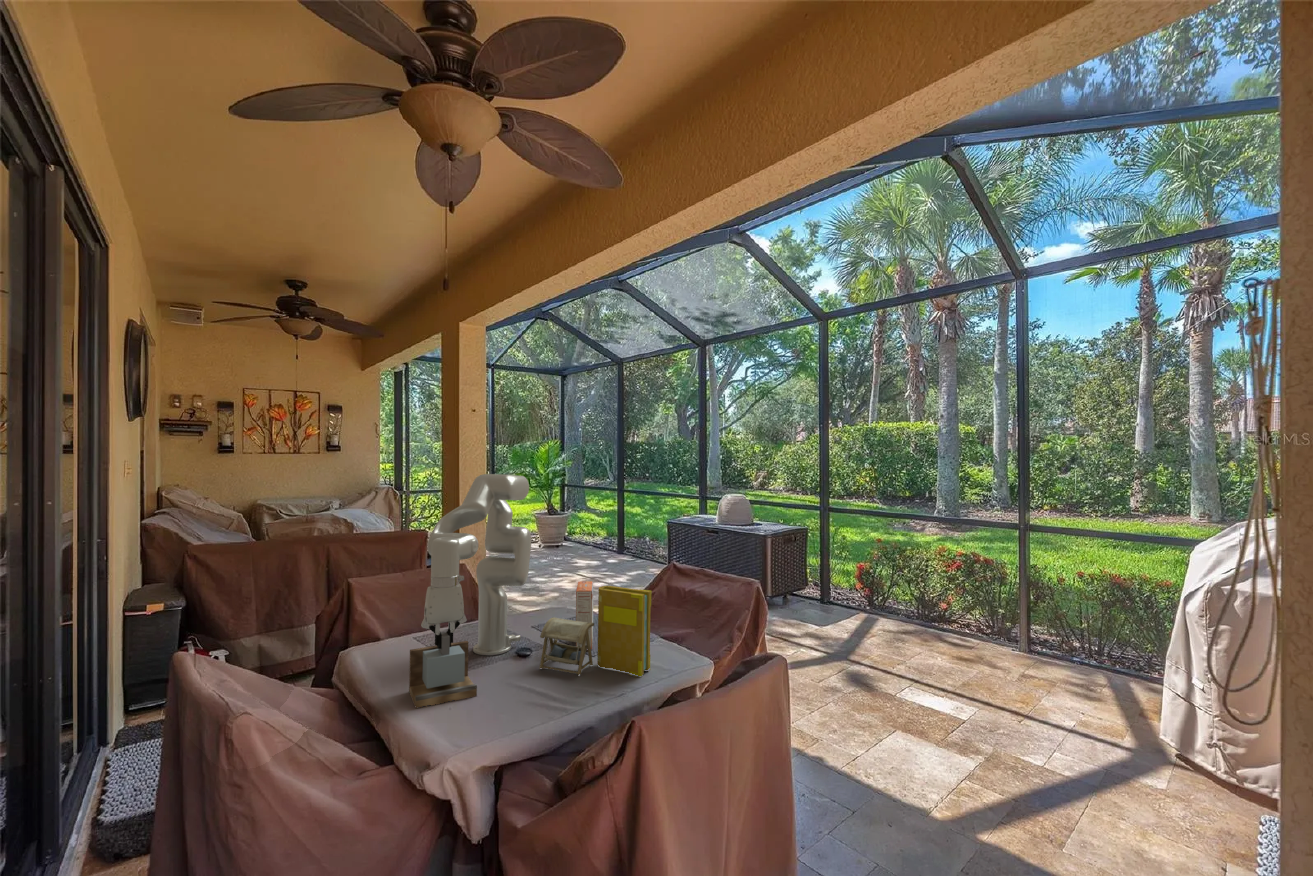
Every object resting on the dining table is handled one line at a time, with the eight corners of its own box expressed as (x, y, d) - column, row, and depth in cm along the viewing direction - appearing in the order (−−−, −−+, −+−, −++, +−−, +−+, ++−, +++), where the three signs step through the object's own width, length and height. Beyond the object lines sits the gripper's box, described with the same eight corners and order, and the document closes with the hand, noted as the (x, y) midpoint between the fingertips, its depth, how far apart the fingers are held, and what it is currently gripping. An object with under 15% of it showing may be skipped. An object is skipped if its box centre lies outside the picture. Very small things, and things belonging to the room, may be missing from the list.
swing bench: (538, 670, 184) (539, 623, 184) (553, 660, 193) (554, 615, 193) (580, 677, 179) (581, 629, 179) (594, 666, 188) (594, 620, 188)
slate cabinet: (458, 672, 171) (459, 628, 171) (464, 681, 165) (465, 635, 165) (422, 679, 166) (423, 633, 166) (427, 688, 160) (427, 641, 160)
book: (650, 669, 185) (651, 590, 186) (640, 677, 179) (642, 595, 180) (603, 660, 192) (605, 584, 193) (593, 667, 186) (594, 589, 187)
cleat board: (466, 681, 175) (467, 640, 175) (476, 696, 164) (477, 653, 164) (409, 692, 166) (409, 649, 166) (415, 708, 156) (416, 663, 156)
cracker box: (576, 637, 215) (577, 580, 215) (593, 637, 216) (593, 580, 216) (574, 651, 201) (575, 590, 201) (592, 650, 202) (593, 590, 202)
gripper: (470, 576, 173) (469, 638, 173) (412, 582, 165) (411, 647, 165) (476, 581, 167) (475, 646, 166) (417, 587, 158) (416, 655, 158)
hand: (443, 646), depth 166 cm, fingers closed on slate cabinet
